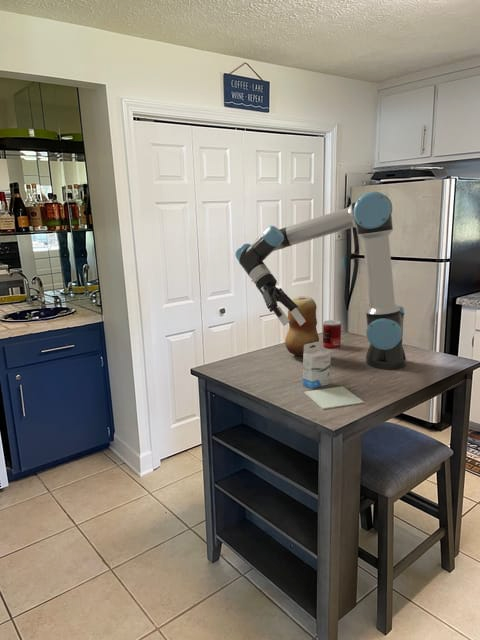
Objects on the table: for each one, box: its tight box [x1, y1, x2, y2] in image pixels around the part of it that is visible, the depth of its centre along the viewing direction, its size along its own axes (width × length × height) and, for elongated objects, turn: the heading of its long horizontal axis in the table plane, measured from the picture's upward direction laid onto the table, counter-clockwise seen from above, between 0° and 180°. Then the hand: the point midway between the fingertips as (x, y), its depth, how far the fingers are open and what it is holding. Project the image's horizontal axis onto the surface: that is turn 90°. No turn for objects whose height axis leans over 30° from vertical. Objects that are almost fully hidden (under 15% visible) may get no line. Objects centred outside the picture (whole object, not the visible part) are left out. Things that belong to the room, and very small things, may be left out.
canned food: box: [322, 319, 342, 350], centre depth 204 cm, size 8×8×11 cm
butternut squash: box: [285, 296, 320, 358], centre depth 190 cm, size 14×13×25 cm
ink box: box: [302, 340, 332, 390], centre depth 160 cm, size 8×5×15 cm, turn 123°
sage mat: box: [303, 386, 365, 410], centre depth 150 cm, size 14×14×1 cm
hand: (295, 323), depth 167 cm, fingers open, 13 cm apart
